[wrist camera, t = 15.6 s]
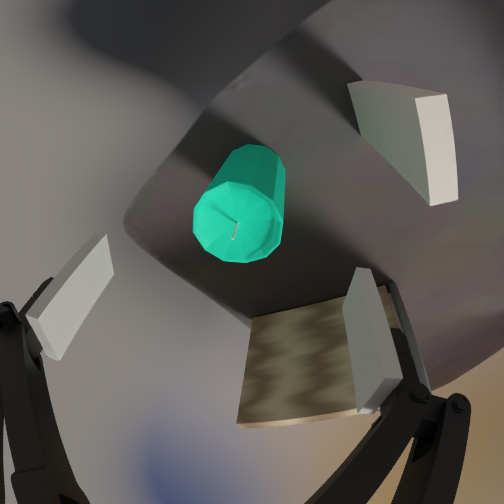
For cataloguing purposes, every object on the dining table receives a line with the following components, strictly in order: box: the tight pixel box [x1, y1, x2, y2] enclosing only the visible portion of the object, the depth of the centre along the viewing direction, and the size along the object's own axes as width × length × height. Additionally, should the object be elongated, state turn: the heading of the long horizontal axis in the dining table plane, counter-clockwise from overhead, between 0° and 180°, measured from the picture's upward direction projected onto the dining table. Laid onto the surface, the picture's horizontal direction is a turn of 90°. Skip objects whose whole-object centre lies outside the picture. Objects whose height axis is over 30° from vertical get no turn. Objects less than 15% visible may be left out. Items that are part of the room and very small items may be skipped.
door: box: [237, 285, 399, 429], centre depth 30 cm, size 17×3×15 cm, turn 113°
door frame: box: [347, 80, 458, 394], centre depth 24 cm, size 2×31×15 cm, turn 20°
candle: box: [193, 144, 285, 263], centre depth 23 cm, size 6×6×12 cm
